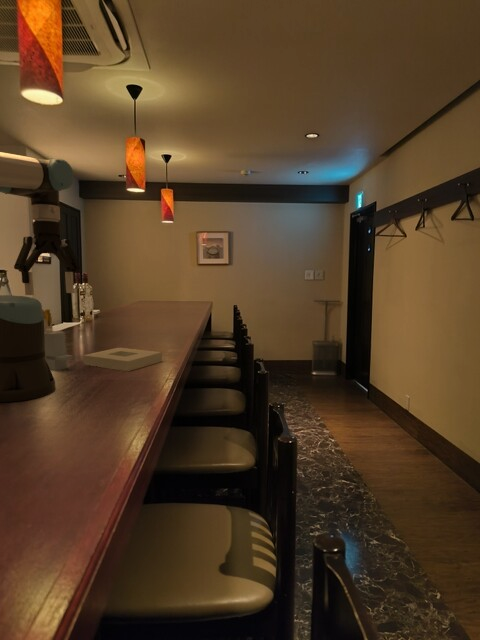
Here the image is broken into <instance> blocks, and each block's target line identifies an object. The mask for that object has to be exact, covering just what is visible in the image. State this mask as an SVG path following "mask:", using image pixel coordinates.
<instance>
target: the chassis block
mask: <svg viewBox="0 0 480 640" xmlns="http://www.w3.org/2000/svg"><path fill="white" fill-rule="evenodd" d="M162 354H163V353H162V352H160V351H152V350H145V349H144V350H143V349H134V348H126V347H116V348H110V349H106V350H101V351H97V352H92V353H88V354H87V353H86V354H83V365H84V366H89V365H90V367H96V366H97V367H98V368H103V369H108V370H109V369H111V370H116V371H123V372H131V371H133V370H138V369H142V368H144V367H148V366H151V365H154V364H158V363H161V362H163V358H162V357H163V355H162ZM97 367H96V368H97Z"/></svg>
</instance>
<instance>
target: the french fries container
mask: <svg viewBox="0 0 480 640" xmlns="http://www.w3.org/2000/svg"><path fill="white" fill-rule="evenodd" d="M42 312H43V315H44V332H46V329H52V331H54V329H53V319H52V313H51V309H50V308H46V309H42Z"/></svg>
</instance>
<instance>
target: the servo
mask: <svg viewBox="0 0 480 640" xmlns="http://www.w3.org/2000/svg"><path fill="white" fill-rule="evenodd" d="M52 329H53V328H52ZM52 329H46V332H44V337H45V356H46V361H47V363H48V366H49V368H50V370H51V371H54V372H57V371H60V370H65V369H67V368H68V367H67V366H68V365H67V361H68V360H73V359H74V355H72V354H67V347H66V333H65V332H64V331H57V330H56V331H55V330H53V331H52Z"/></svg>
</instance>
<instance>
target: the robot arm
mask: <svg viewBox="0 0 480 640" xmlns="http://www.w3.org/2000/svg"><path fill="white" fill-rule="evenodd" d="M74 181H75V176H74V170H73V168H72V166H71V164H69V162H68V161H66V160H65V159H63V158H50V159H43V158H39V157H37V158H35V157H30V156H25V155H19V154H13V153H10V152H9V153H8V152H3V151H0V193H3V194H5V195H12V196H19V197H24V198H29V199H30V202H31V204H30V205H31V219H32V220H33V222H32V233H33V236H23V241H22V242H23V243H22V247H21V249H20V251H19V254H18V256H17V259H16V261H15V263H14V264H13V268H14V269H15V270H17V271H18V272H20V273H21V283H22V284H24V295H25V296H23V295H11V294H9V295H7V294H5V295H0V403H10V402H21V401H22V402H23V401H28V400H33V399H37V398H41V397H45V396H47V395H49V394H52V393H53V392H55V390H56V381H55V378H54V375H53V372H52V370H50V368H49V366H48V363H47V361H46V356H45V337H44V315H43V312H42V310H43V306H42V303H41V301H39V300H38V299H37V298H34V297H30V296H34V280H33V271H30V270H31V269H32V268H33V266H34V265H35V264H36V262H37V261H38V259H39V258H40V257H41V255H43V254H51V255H52V254H53V255H54V256H56V258H57V260H58V261H60V263H61V264H62V266H63V267H64V268H65V269H66V271H65V272H64V274H65V275H64V279H65V280H64V281H65V292H66V293H67V294H74V293H75V289H74V286H75V285H74V283H75V282H76V275H75V273H76V272H77V271H78V270H81V265H80V263H79V261H78V259H77V258H76V255H75V253H74V251H73V249H72V247H71V241H70V239H68V238H67V239H65V238H64V239H61V234H62V227H61V226H62V224H61V222H60V221H61V212H60V211H61V208H60V192H61V191H64V190H68V189H70V188H71V187H72V186H73V184H74ZM33 245H34V246H35V247H34V248H33V249H32V247H33ZM31 250H32V252H31ZM30 252H31V253H30Z"/></svg>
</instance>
